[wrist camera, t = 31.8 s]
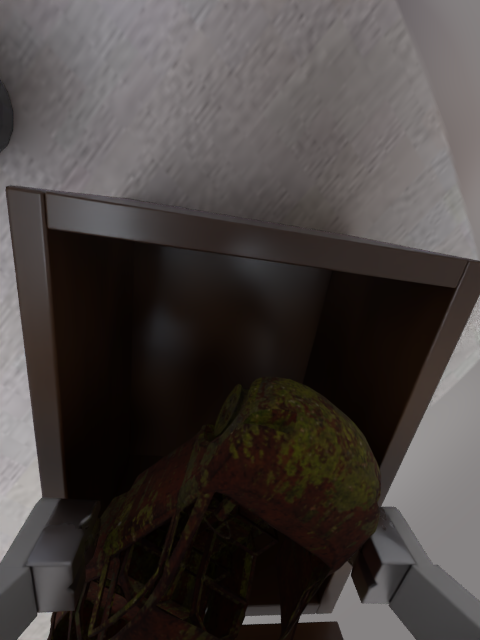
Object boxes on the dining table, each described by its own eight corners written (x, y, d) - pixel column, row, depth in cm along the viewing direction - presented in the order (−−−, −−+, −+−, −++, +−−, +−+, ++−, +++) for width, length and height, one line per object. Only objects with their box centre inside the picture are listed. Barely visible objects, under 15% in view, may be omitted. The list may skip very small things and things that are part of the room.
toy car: (197, 591, 14) (167, 782, 9) (71, 518, 12) (-39, 698, 8) (407, 452, 10) (533, 654, 5) (261, 327, 9) (265, 454, 4)
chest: (123, 198, 14) (2, 184, 6) (350, 235, 16) (495, 264, 8) (120, 453, 20) (56, 622, 12) (286, 460, 22) (331, 613, 13)
